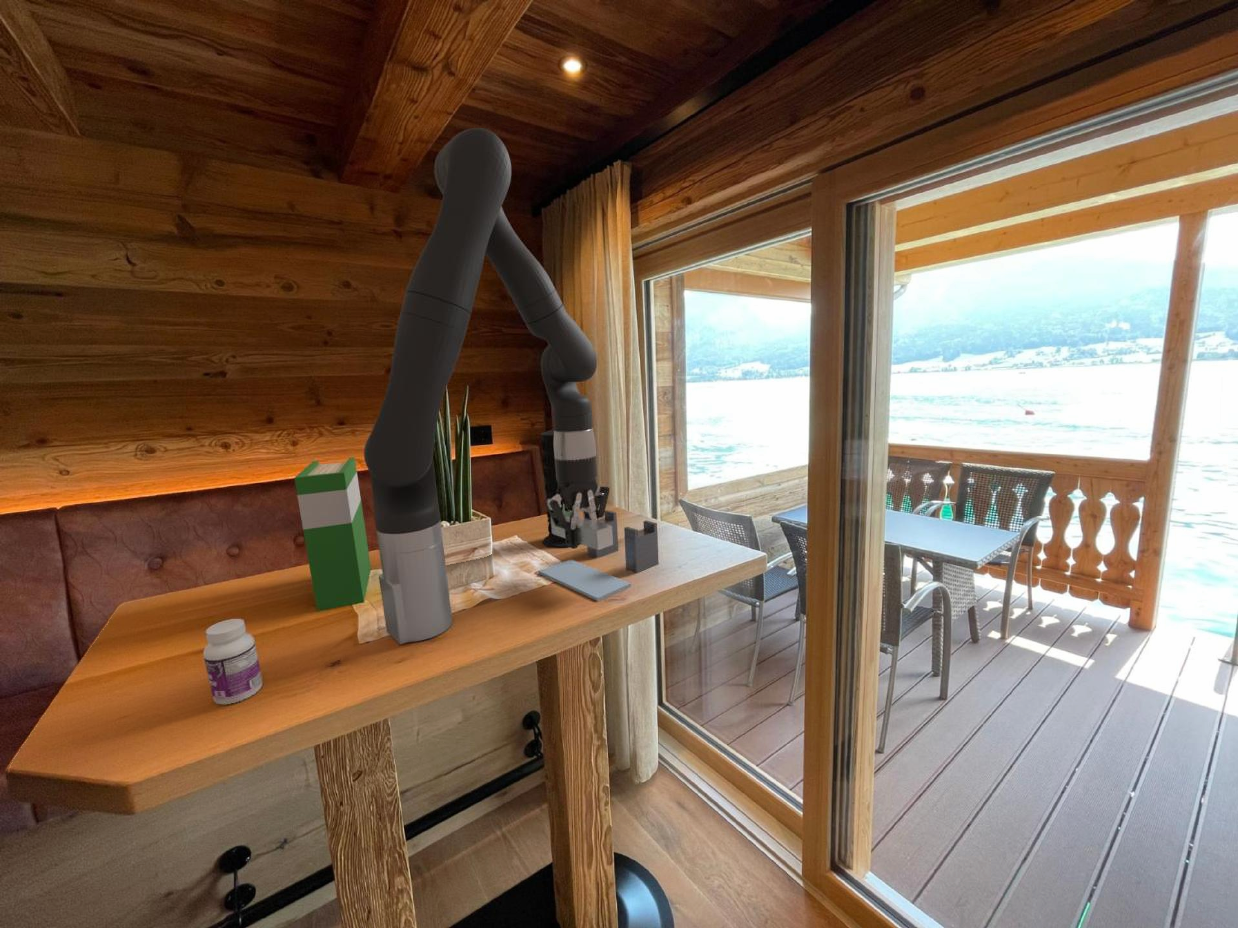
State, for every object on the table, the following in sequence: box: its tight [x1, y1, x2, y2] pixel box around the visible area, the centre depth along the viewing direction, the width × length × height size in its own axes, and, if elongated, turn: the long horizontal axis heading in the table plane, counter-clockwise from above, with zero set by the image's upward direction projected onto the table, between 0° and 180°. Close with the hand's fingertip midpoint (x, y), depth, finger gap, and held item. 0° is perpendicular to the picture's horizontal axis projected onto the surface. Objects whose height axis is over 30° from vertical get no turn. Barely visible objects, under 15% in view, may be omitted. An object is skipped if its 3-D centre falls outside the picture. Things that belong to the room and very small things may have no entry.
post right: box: [623, 519, 659, 574], centre depth 102 cm, size 6×3×9 cm, turn 133°
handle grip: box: [540, 428, 581, 549], centre depth 118 cm, size 10×26×10 cm
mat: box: [538, 559, 632, 602], centre depth 98 cm, size 8×18×1 cm, turn 43°
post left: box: [586, 509, 619, 559], centre depth 111 cm, size 6×3×9 cm, turn 132°
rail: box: [551, 515, 613, 550], centre depth 96 cm, size 4×14×4 cm, turn 42°
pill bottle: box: [202, 618, 263, 706], centre depth 67 cm, size 5×5×10 cm
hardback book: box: [294, 456, 372, 612], centre depth 97 cm, size 18×7×24 cm, turn 22°
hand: (581, 543), depth 97 cm, fingers closed on rail, 3 cm apart
